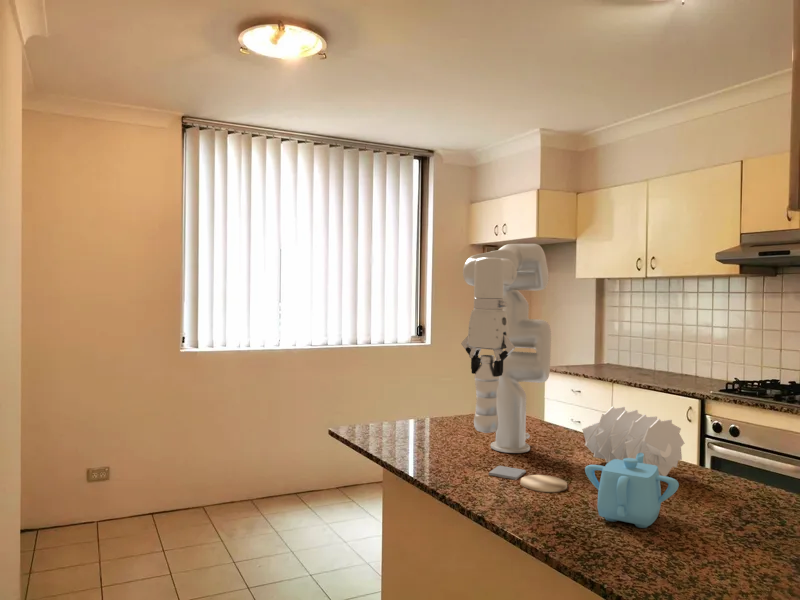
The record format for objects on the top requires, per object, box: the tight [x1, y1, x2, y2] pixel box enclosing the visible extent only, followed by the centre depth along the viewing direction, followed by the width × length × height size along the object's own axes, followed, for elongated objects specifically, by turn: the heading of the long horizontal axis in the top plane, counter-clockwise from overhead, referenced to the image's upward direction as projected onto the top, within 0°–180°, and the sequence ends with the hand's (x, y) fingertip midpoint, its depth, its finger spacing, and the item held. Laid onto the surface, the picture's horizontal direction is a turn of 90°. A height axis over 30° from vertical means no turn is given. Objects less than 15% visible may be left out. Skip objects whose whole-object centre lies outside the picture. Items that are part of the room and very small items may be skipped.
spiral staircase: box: [582, 406, 685, 477], centre depth 175 cm, size 18×18×25 cm
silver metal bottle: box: [473, 354, 499, 434], centre depth 157 cm, size 6×7×20 cm
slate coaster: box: [488, 465, 527, 481], centre depth 169 cm, size 8×8×1 cm
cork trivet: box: [520, 474, 568, 493], centre depth 160 cm, size 12×12×1 cm
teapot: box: [584, 453, 680, 529], centre depth 138 cm, size 18×16×14 cm
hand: (486, 373), depth 157 cm, fingers closed on silver metal bottle, 6 cm apart
